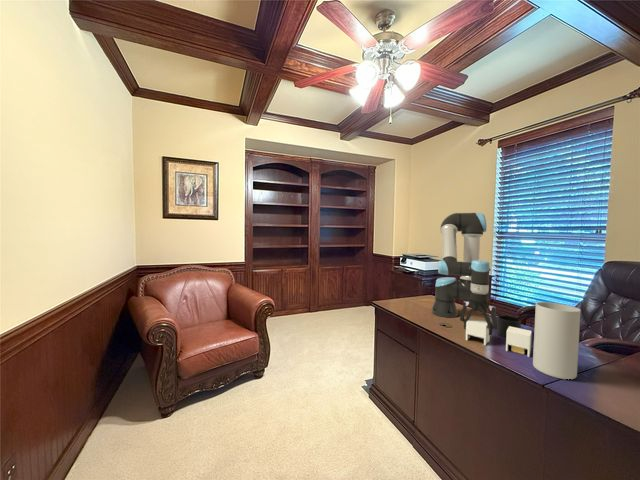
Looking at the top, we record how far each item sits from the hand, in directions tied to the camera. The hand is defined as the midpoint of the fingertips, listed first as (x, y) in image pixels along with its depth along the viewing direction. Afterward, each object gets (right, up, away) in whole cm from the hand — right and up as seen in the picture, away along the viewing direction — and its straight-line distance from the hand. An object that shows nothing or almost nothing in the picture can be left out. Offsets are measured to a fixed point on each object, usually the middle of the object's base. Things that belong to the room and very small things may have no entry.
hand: (477, 338), depth 127 cm
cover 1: (0, -1, 0) cm, 1 cm away
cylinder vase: (+12, -2, -28) cm, 30 cm away
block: (+12, -1, -11) cm, 16 cm away
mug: (+21, -1, +7) cm, 22 cm away
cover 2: (+12, -1, -11) cm, 16 cm away
